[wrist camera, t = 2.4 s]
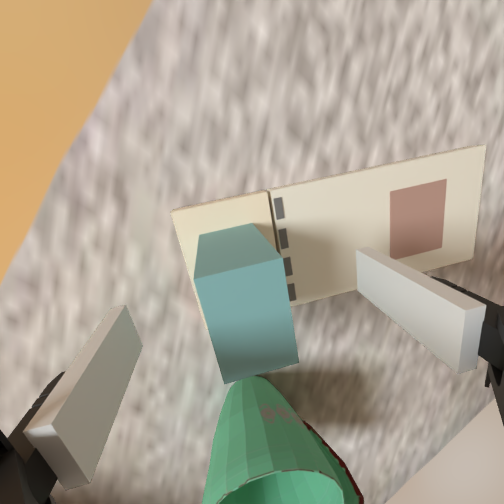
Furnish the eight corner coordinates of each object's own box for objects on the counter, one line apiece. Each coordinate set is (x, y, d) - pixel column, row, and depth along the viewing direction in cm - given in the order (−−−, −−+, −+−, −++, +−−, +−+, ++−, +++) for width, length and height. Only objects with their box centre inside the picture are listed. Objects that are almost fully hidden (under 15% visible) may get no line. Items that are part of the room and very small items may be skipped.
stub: (205, 320, 22) (205, 420, 13) (173, 209, 19) (142, 243, 10) (281, 300, 23) (329, 383, 14) (262, 190, 19) (309, 205, 11)
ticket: (284, 299, 23) (289, 308, 21) (266, 189, 20) (271, 190, 18) (457, 253, 25) (474, 259, 23) (468, 146, 21) (487, 144, 20)
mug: (183, 415, 25) (169, 561, 16) (235, 340, 23) (254, 453, 14) (296, 450, 30) (337, 579, 20) (346, 389, 28) (416, 500, 18)
